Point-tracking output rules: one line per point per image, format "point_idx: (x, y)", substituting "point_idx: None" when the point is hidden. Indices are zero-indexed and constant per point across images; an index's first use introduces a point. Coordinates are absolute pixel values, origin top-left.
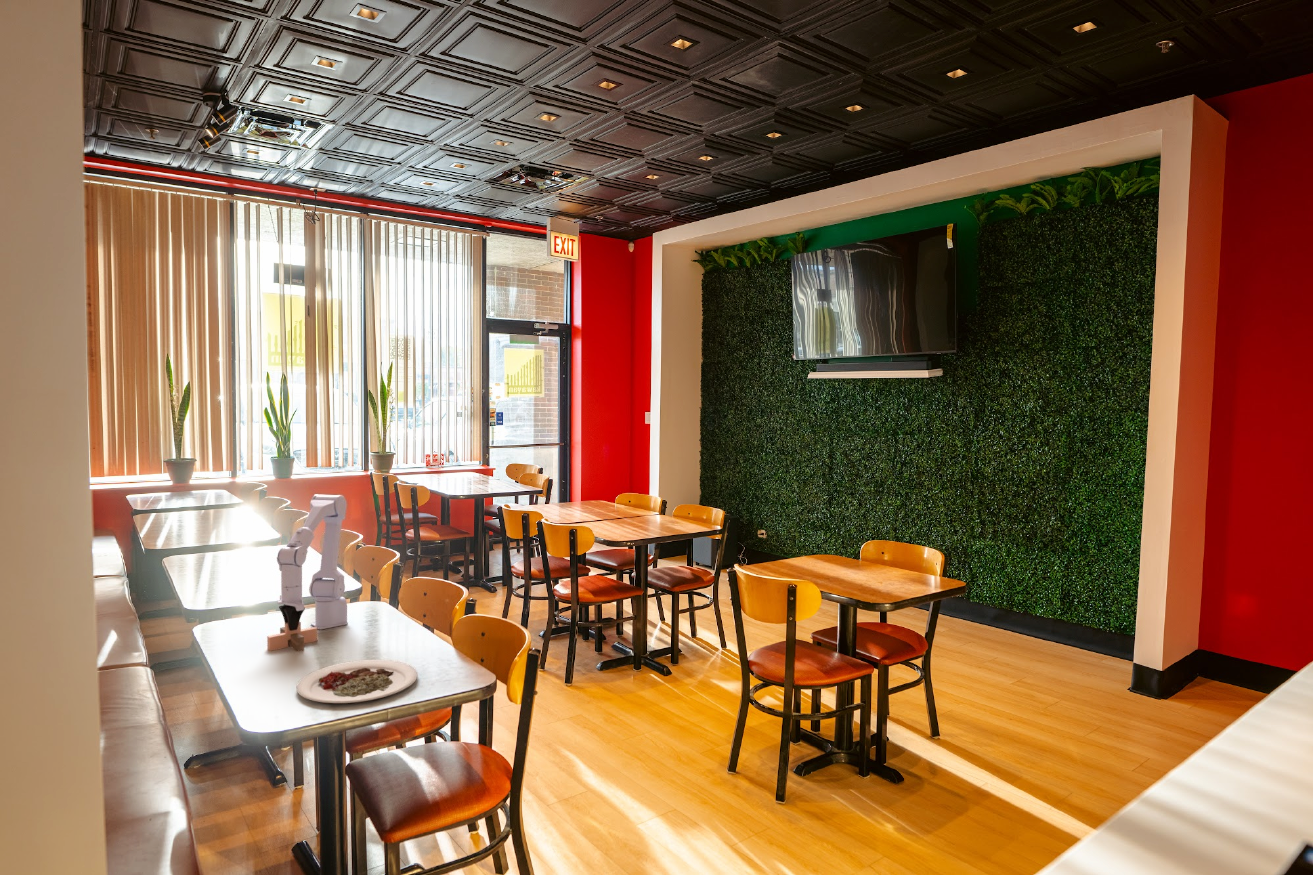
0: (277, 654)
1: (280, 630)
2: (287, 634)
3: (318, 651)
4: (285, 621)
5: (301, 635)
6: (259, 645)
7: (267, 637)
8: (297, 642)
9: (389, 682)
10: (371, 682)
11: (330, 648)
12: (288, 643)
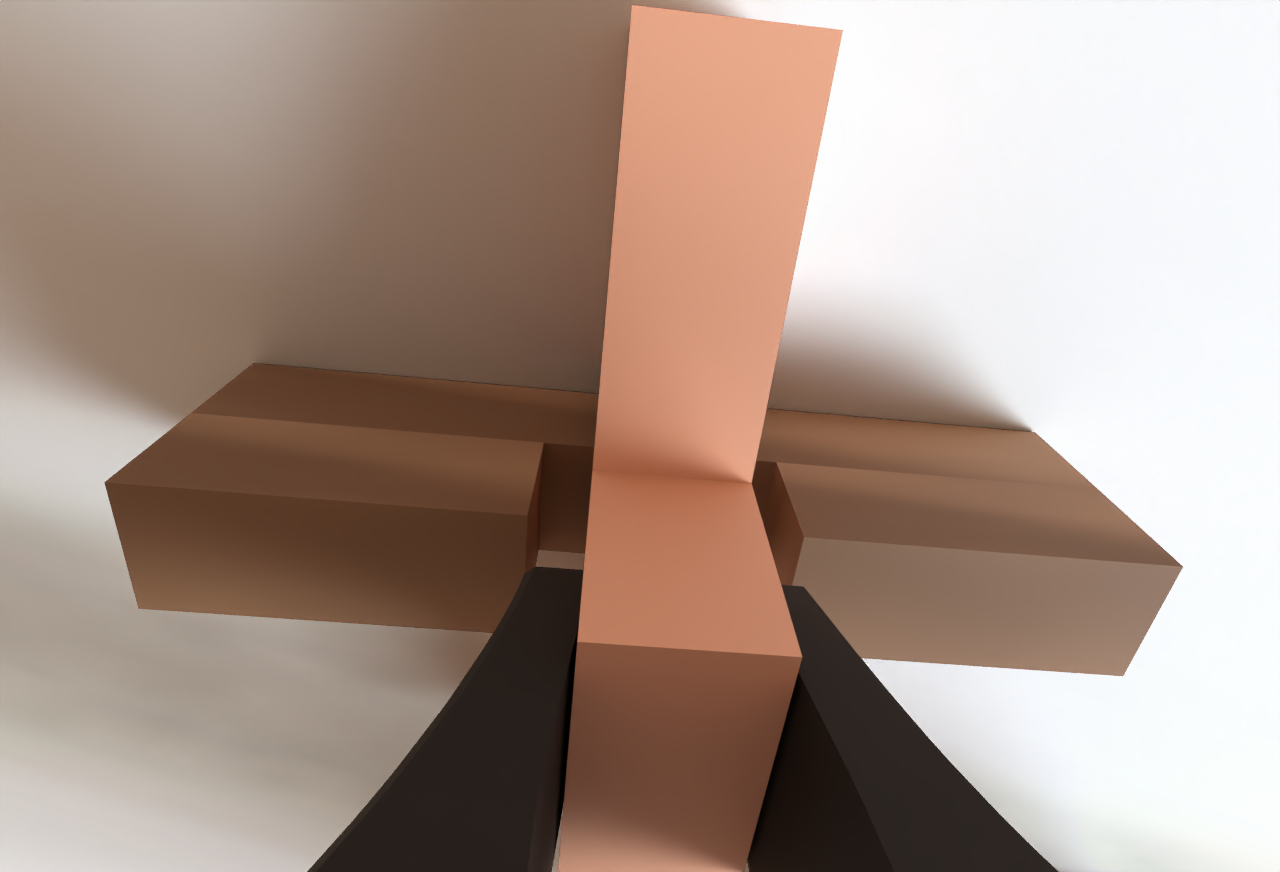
0: (281, 26)
1: (1123, 529)
2: (593, 472)
3: (64, 559)
4: (818, 716)
5: (271, 613)
6: (1127, 37)
7: (825, 33)
8: (165, 440)
9: None
10: None
11: (122, 696)
12: None
